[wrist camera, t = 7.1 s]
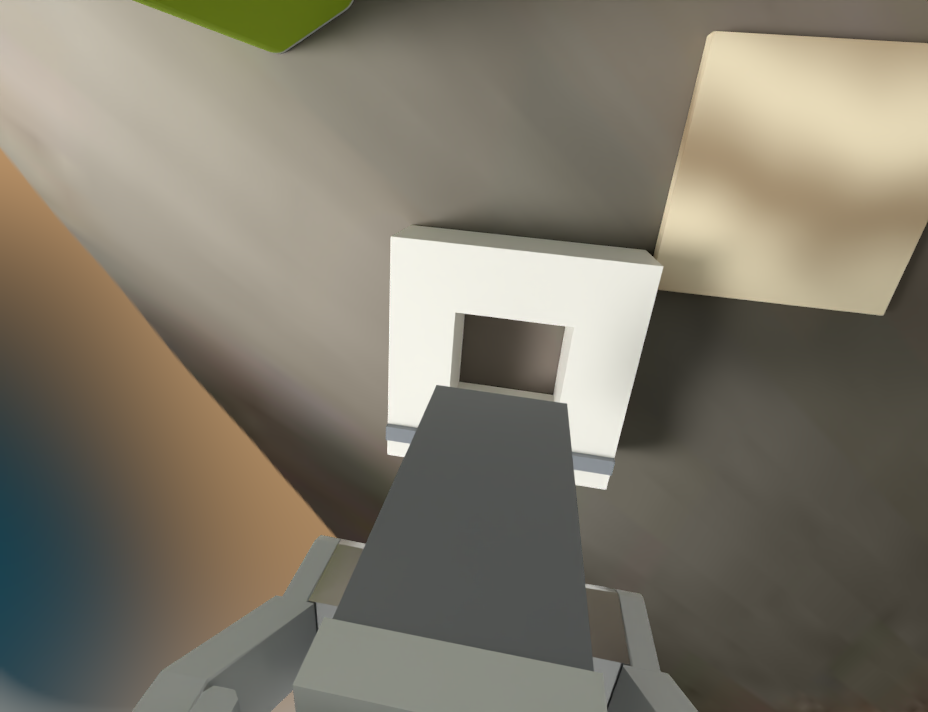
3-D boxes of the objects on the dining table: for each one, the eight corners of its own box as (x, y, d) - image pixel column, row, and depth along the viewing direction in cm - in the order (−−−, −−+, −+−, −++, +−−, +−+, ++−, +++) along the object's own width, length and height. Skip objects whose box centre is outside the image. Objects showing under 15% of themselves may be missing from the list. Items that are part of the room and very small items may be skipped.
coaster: (707, 36, 18) (714, 31, 18) (989, 52, 17) (1009, 47, 16) (646, 284, 22) (649, 288, 22) (871, 310, 21) (883, 315, 21)
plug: (433, 381, 14) (292, 685, 6) (571, 401, 14) (612, 755, 6) (427, 488, 16) (311, 834, 8) (549, 509, 16) (557, 897, 8)
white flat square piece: (411, 224, 23) (388, 237, 19) (645, 249, 22) (665, 267, 18) (405, 419, 27) (385, 457, 24) (598, 449, 26) (606, 493, 23)
